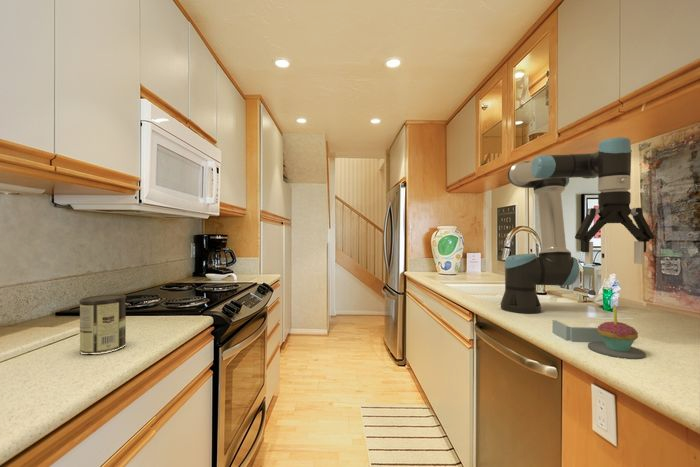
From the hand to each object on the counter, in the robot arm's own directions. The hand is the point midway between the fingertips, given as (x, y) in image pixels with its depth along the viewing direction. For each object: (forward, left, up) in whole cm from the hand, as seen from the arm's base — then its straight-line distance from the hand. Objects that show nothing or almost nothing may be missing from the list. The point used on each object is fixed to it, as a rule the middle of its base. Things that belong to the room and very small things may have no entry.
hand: (613, 263), depth 99 cm
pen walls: (-2, -6, -23) cm, 23 cm away
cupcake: (+10, -6, -22) cm, 25 cm away
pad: (+10, -6, -23) cm, 25 cm away
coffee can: (+21, -144, -23) cm, 147 cm away
